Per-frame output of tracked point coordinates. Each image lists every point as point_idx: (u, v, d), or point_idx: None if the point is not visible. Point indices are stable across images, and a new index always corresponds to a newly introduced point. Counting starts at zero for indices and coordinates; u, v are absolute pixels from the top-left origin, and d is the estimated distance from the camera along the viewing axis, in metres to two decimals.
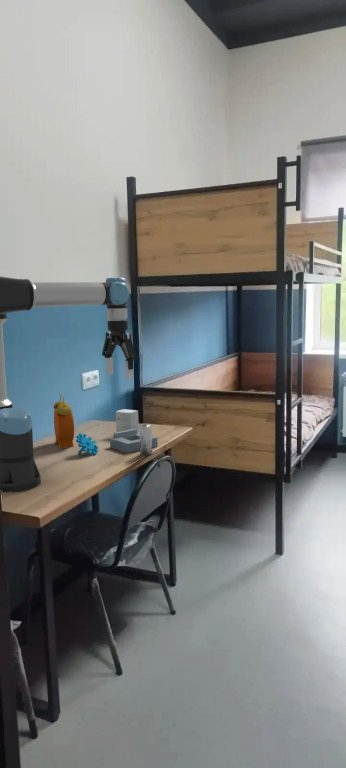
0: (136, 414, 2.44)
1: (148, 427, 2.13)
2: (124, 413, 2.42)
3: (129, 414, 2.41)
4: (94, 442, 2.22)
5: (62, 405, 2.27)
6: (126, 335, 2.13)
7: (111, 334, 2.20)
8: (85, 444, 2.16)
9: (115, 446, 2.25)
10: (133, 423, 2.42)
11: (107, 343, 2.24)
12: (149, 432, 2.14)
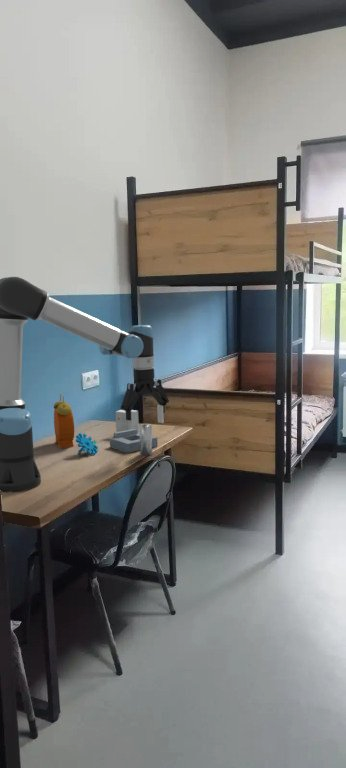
0: (136, 414, 2.44)
1: (148, 427, 2.13)
2: (124, 413, 2.42)
3: None
4: (94, 442, 2.22)
5: (62, 405, 2.27)
6: (127, 385, 2.09)
7: None
8: (85, 444, 2.17)
9: (115, 446, 2.25)
10: None
11: (158, 390, 2.18)
12: (149, 432, 2.14)
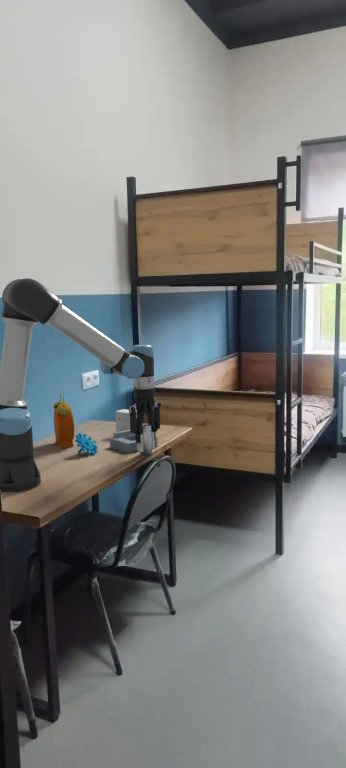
0: (136, 414, 2.44)
1: (148, 427, 2.13)
2: (124, 413, 2.42)
3: (129, 414, 2.41)
4: (94, 442, 2.22)
5: (62, 405, 2.27)
6: (128, 409, 2.10)
7: None
8: (84, 444, 2.17)
9: (115, 446, 2.25)
10: None
11: (154, 413, 2.18)
12: (149, 432, 2.14)
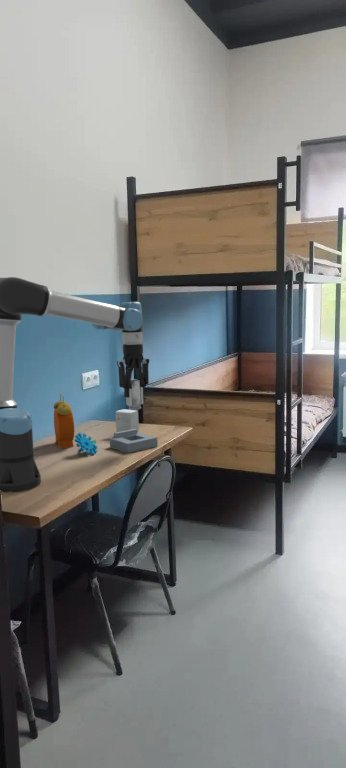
0: (136, 414, 2.44)
1: (136, 382, 2.20)
2: (124, 413, 2.42)
3: (129, 414, 2.41)
4: (93, 442, 2.22)
5: (62, 405, 2.27)
6: (117, 363, 2.18)
7: None
8: (84, 444, 2.17)
9: (115, 446, 2.25)
10: (133, 423, 2.42)
11: (143, 369, 2.25)
12: (137, 387, 2.21)
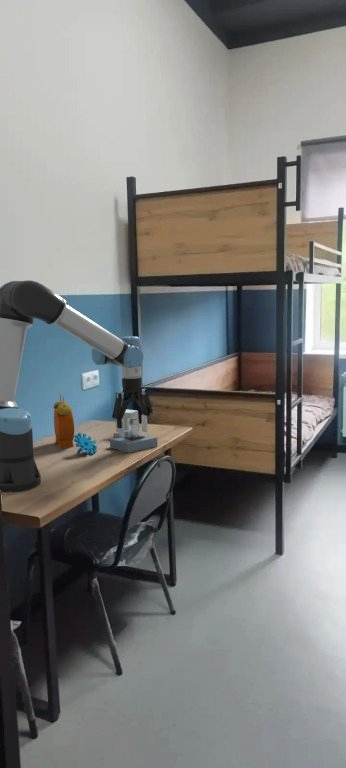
0: (136, 414, 2.44)
1: (135, 421, 2.24)
2: None
3: (129, 414, 2.41)
4: (93, 442, 2.22)
5: (62, 405, 2.27)
6: (116, 394, 2.21)
7: None
8: (83, 444, 2.17)
9: (115, 446, 2.25)
10: None
11: (144, 399, 2.29)
12: (136, 425, 2.25)
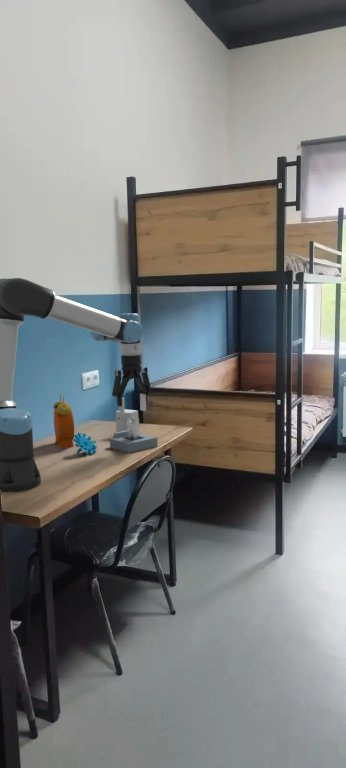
0: (136, 414, 2.44)
1: (135, 421, 2.24)
2: None
3: (129, 414, 2.41)
4: (93, 442, 2.22)
5: (62, 405, 2.27)
6: (115, 372, 2.19)
7: None
8: (82, 444, 2.17)
9: (115, 446, 2.25)
10: None
11: (143, 378, 2.28)
12: (136, 425, 2.25)
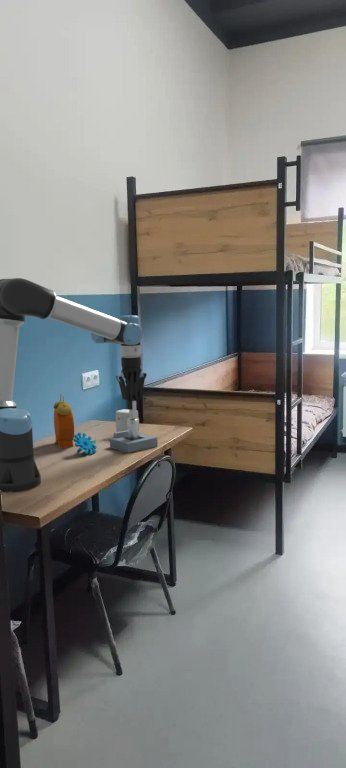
0: (136, 414, 2.44)
1: (135, 421, 2.24)
2: (124, 413, 2.42)
3: None
4: (93, 442, 2.22)
5: (62, 405, 2.27)
6: (117, 378, 2.20)
7: None
8: (82, 444, 2.17)
9: (115, 446, 2.25)
10: None
11: (138, 383, 2.27)
12: (136, 425, 2.25)
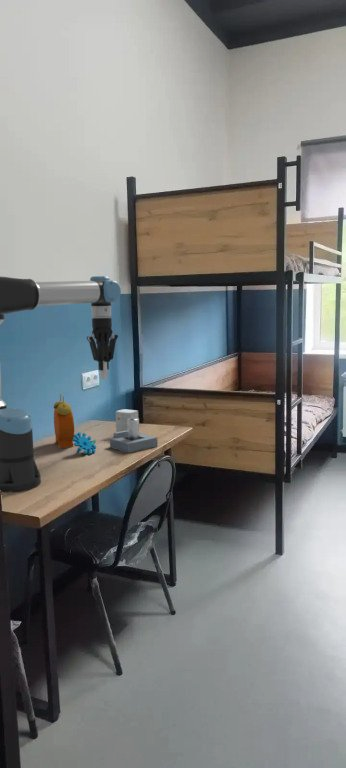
0: (136, 414, 2.44)
1: (135, 421, 2.24)
2: (124, 413, 2.42)
3: (129, 414, 2.41)
4: (93, 442, 2.22)
5: (62, 405, 2.27)
6: (87, 339, 2.22)
7: None
8: (82, 443, 2.17)
9: (115, 446, 2.25)
10: None
11: (110, 344, 2.28)
12: (136, 425, 2.25)
